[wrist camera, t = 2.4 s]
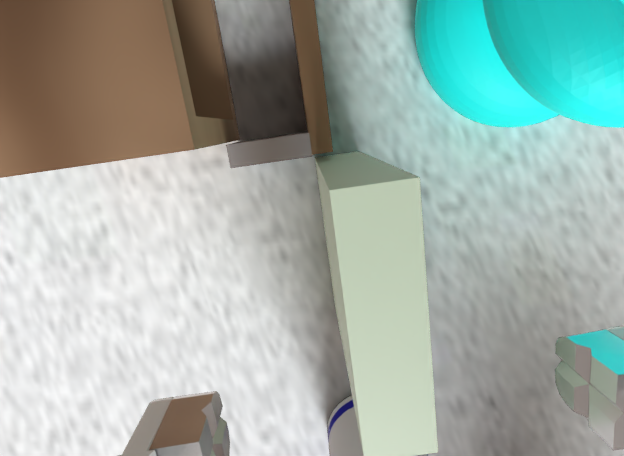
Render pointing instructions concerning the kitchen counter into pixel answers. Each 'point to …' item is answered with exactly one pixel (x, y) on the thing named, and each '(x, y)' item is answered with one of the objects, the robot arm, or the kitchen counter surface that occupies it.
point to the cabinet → (134, 84)
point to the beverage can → (345, 431)
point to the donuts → (525, 59)
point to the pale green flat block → (381, 299)
